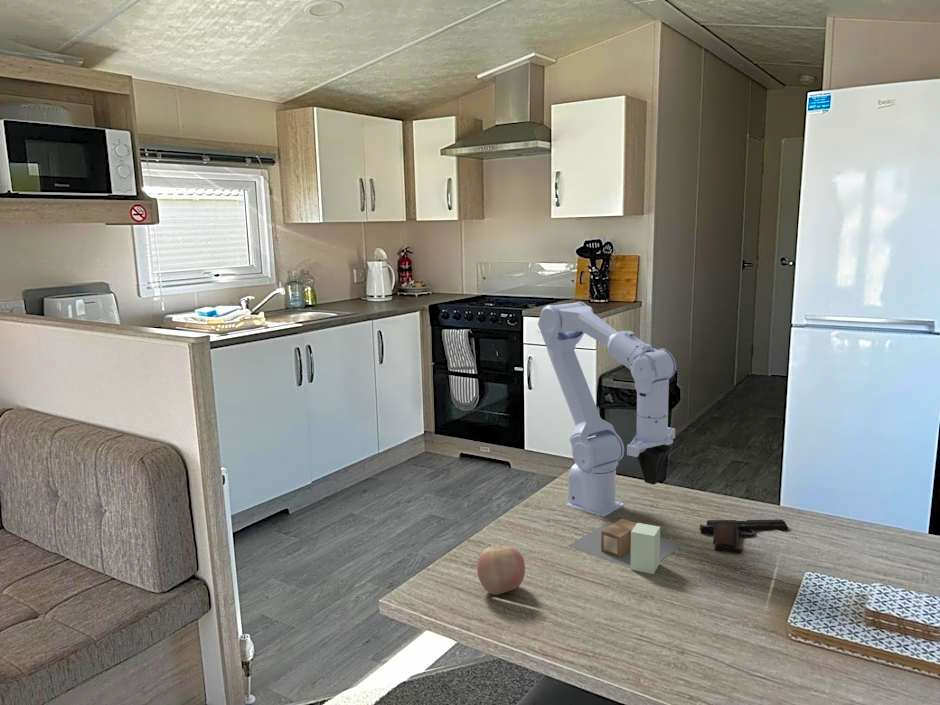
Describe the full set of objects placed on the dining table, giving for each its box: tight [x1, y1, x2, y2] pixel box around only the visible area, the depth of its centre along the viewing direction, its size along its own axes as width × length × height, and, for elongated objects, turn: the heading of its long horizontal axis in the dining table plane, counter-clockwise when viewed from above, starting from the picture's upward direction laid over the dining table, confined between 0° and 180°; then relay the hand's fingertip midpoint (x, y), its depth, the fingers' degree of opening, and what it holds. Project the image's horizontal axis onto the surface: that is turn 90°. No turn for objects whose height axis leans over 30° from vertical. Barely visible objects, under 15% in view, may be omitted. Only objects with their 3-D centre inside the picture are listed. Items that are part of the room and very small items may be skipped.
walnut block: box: [601, 518, 638, 558], centre depth 132 cm, size 4×4×7 cm
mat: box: [567, 521, 684, 574], centre depth 134 cm, size 16×14×1 cm
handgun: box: [699, 519, 789, 555], centre depth 135 cm, size 2×17×12 cm
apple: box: [476, 545, 526, 596], centre depth 119 cm, size 8×8×8 cm
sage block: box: [629, 522, 661, 575], centre depth 125 cm, size 4×4×7 cm
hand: (651, 482), depth 138 cm, fingers closed
